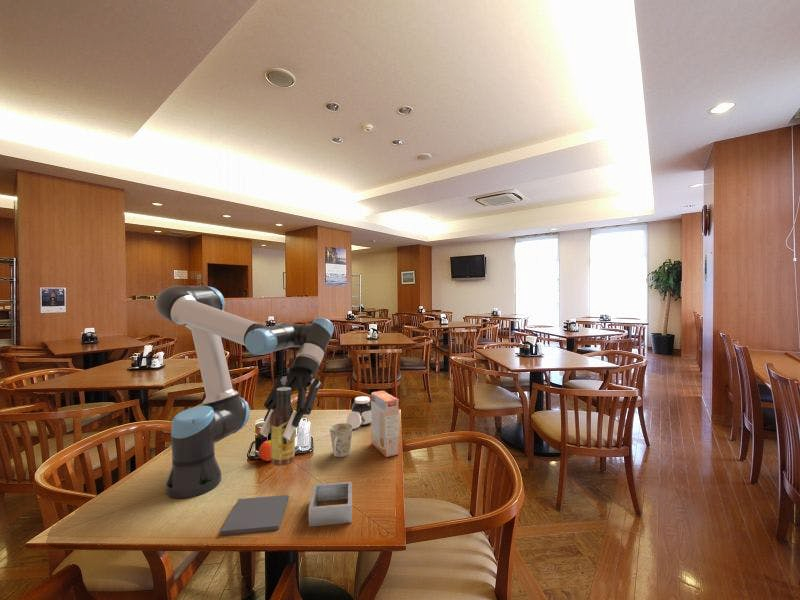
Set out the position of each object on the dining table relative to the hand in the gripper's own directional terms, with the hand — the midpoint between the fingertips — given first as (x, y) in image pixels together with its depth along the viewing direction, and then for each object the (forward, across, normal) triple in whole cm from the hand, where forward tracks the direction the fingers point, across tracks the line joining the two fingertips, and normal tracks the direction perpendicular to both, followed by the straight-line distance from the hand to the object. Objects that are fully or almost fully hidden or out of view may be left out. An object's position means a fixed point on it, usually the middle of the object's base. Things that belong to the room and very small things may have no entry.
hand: (274, 436), depth 93 cm
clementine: (-4, +23, -38) cm, 45 cm away
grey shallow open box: (+10, -12, -22) cm, 27 cm away
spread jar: (-33, +4, -66) cm, 74 cm away
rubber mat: (+15, +6, -17) cm, 24 cm away
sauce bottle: (+4, 0, -9) cm, 9 cm away
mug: (-11, 0, -44) cm, 45 cm away
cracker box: (-18, -14, -51) cm, 56 cm away
